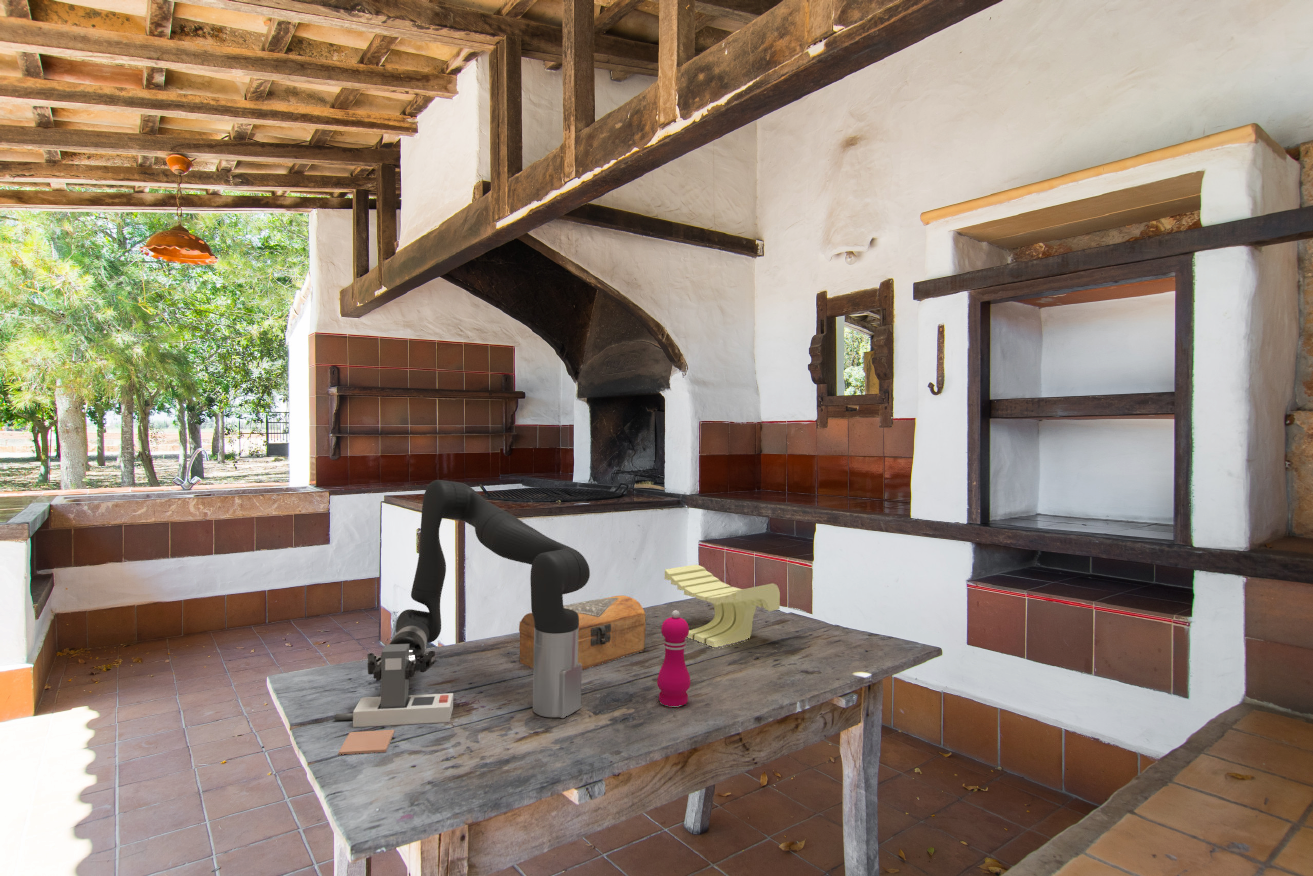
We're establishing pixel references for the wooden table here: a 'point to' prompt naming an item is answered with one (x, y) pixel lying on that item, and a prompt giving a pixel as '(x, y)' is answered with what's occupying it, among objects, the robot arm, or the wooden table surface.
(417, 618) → the robot arm
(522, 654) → the wooden box
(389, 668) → the block
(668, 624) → the pepper mill
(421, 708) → the power strip
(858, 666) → the wooden table surface
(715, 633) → the slatted curved stool
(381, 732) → the tile coaster
